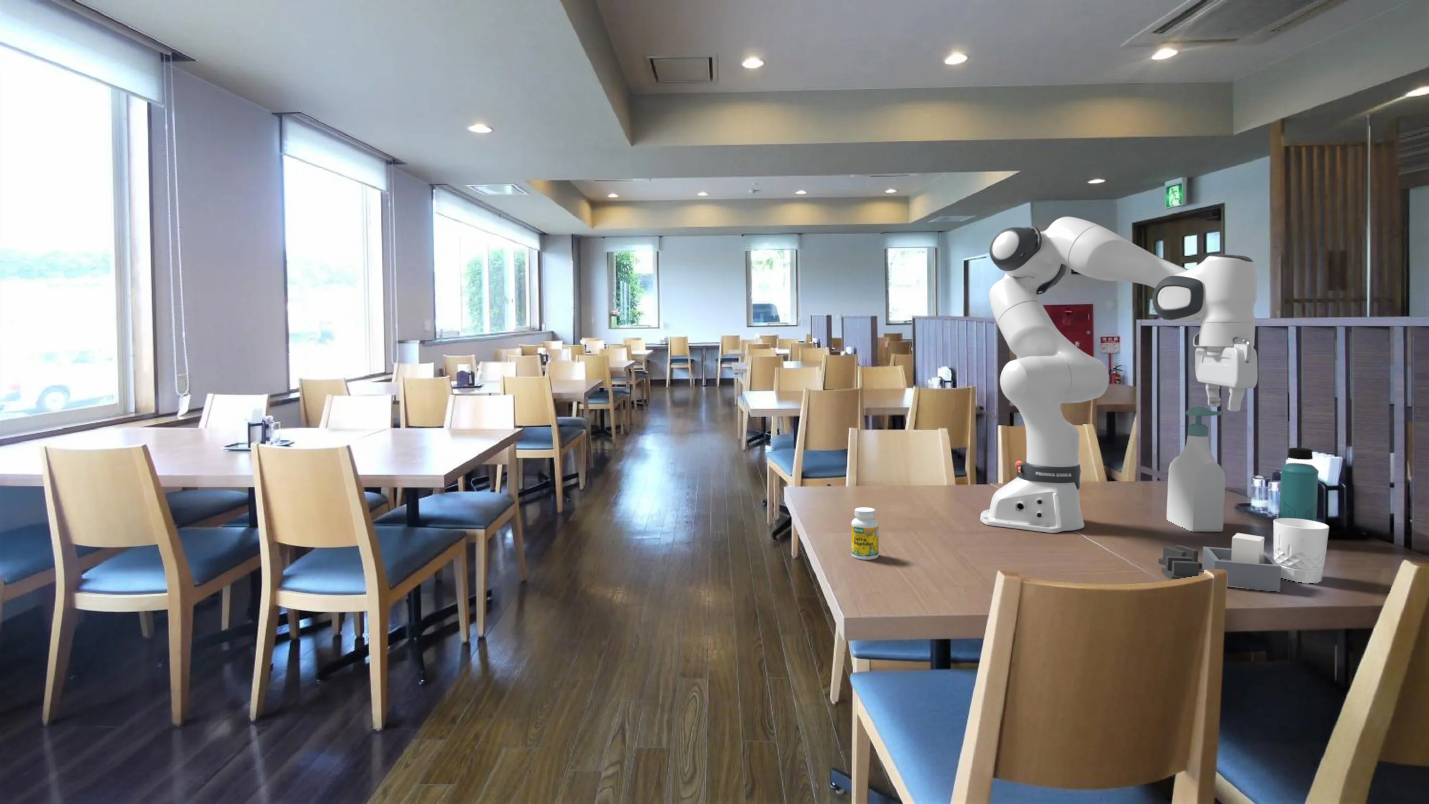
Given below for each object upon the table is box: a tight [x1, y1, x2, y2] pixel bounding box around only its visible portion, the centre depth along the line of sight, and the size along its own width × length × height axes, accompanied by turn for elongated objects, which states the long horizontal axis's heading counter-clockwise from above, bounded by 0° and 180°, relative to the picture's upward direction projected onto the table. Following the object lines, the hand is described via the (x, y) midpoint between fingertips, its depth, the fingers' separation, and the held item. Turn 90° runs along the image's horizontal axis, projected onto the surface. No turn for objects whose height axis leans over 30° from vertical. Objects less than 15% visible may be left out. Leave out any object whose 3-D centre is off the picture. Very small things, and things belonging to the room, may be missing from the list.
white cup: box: [1272, 517, 1330, 584], centre depth 137 cm, size 8×8×10 cm
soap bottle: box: [1166, 406, 1227, 533], centre depth 173 cm, size 11×8×27 cm
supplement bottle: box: [850, 506, 880, 561], centre depth 153 cm, size 5×5×10 cm
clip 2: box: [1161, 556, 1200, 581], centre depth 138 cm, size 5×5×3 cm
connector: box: [1220, 532, 1265, 564], centre depth 136 cm, size 6×4×7 cm, turn 45°
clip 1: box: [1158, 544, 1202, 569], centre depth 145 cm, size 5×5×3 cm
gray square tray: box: [1201, 546, 1281, 593], centre depth 136 cm, size 10×10×4 cm
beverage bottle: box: [1277, 447, 1319, 522], centre depth 159 cm, size 6×7×20 cm
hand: (1223, 408), depth 150 cm, fingers open, 8 cm apart
